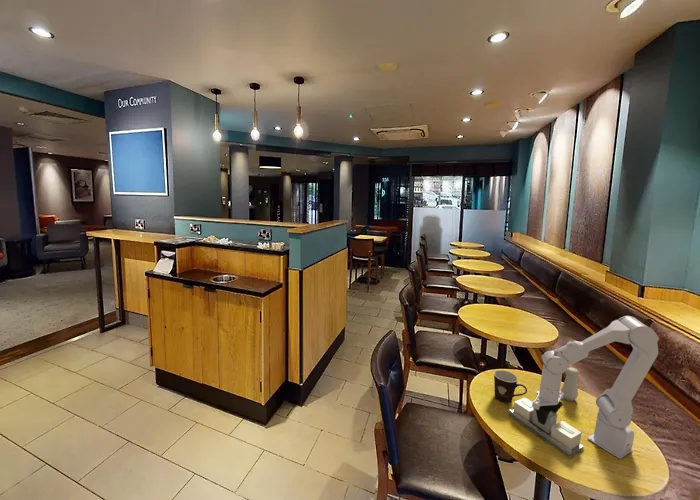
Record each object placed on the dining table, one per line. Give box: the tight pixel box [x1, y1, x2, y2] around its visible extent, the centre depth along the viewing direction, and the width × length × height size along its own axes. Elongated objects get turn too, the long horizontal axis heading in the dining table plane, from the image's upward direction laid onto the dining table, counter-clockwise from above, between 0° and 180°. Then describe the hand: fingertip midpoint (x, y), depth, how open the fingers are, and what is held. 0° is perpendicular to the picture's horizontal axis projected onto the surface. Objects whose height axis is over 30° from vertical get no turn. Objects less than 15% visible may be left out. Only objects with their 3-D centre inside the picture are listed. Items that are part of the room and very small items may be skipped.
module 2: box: [551, 420, 583, 450], centre depth 105 cm, size 6×6×5 cm
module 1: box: [512, 397, 533, 422], centre depth 118 cm, size 6×6×5 cm
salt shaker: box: [560, 366, 580, 402], centre depth 129 cm, size 6×6×13 cm
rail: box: [507, 408, 585, 459], centre depth 112 cm, size 22×8×2 cm, turn 27°
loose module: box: [532, 407, 558, 433], centre depth 112 cm, size 6×4×6 cm, turn 27°
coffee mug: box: [493, 369, 528, 404], centre depth 127 cm, size 12×9×10 cm
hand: (545, 420), depth 111 cm, fingers closed on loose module, 4 cm apart
